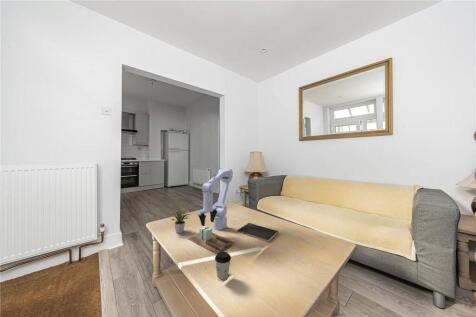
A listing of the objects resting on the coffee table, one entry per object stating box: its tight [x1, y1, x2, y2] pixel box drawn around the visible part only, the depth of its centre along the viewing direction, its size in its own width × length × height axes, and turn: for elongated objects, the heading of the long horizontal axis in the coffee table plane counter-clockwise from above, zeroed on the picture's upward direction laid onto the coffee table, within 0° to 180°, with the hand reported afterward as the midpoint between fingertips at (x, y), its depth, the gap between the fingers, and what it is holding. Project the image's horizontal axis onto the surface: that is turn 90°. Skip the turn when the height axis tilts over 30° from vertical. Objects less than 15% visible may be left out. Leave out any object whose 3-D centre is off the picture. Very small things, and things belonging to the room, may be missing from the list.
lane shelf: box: [187, 232, 236, 255], centre depth 102 cm, size 16×25×2 cm, turn 52°
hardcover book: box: [237, 222, 279, 243], centre depth 116 cm, size 16×23×2 cm
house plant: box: [171, 207, 192, 234], centre depth 114 cm, size 14×14×16 cm
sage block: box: [198, 225, 213, 241], centre depth 105 cm, size 5×6×7 cm
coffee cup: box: [214, 251, 232, 282], centre depth 73 cm, size 7×7×10 cm
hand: (207, 223), depth 107 cm, fingers open, 7 cm apart
